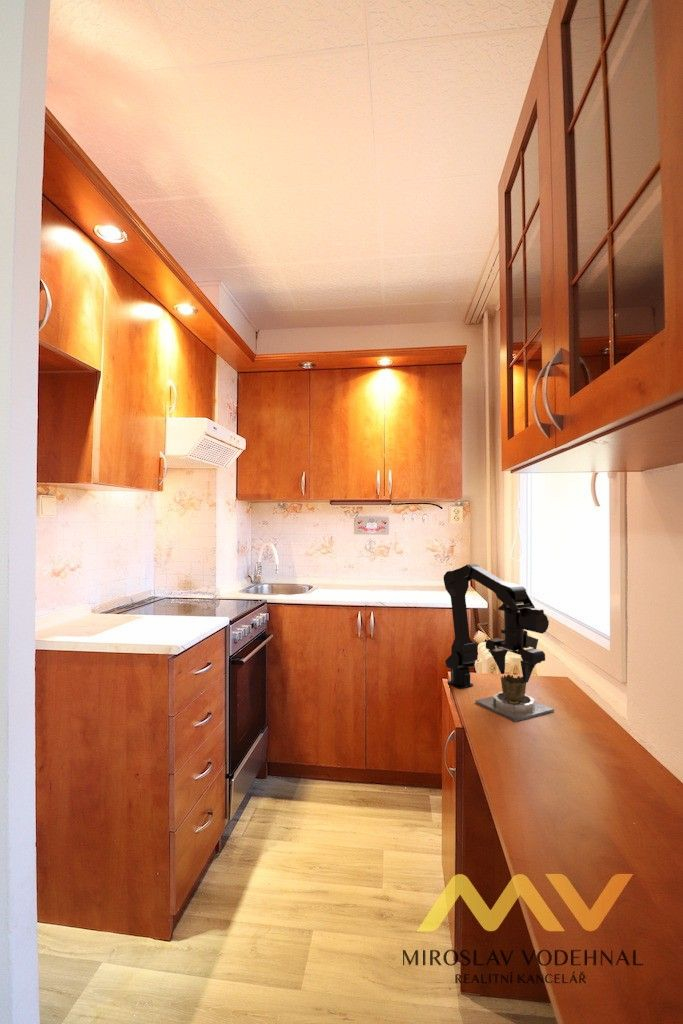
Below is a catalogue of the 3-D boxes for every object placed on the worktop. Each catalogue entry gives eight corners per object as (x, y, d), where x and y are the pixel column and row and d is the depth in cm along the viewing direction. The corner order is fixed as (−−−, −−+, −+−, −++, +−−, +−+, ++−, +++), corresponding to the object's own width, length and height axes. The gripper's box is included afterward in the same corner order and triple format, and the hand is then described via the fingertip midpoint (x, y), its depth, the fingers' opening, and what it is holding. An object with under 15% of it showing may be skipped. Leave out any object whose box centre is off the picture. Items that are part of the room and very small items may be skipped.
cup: (528, 703, 147) (528, 677, 148) (523, 711, 141) (523, 683, 141) (504, 698, 151) (504, 672, 152) (498, 705, 145) (498, 679, 145)
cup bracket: (475, 702, 150) (475, 693, 150) (512, 694, 157) (512, 685, 157) (515, 722, 135) (515, 712, 135) (553, 711, 143) (553, 702, 143)
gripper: (557, 630, 142) (558, 683, 142) (509, 618, 158) (509, 666, 158) (531, 634, 137) (531, 689, 136) (484, 622, 153) (484, 671, 153)
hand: (514, 678), depth 146 cm, fingers open, 9 cm apart
